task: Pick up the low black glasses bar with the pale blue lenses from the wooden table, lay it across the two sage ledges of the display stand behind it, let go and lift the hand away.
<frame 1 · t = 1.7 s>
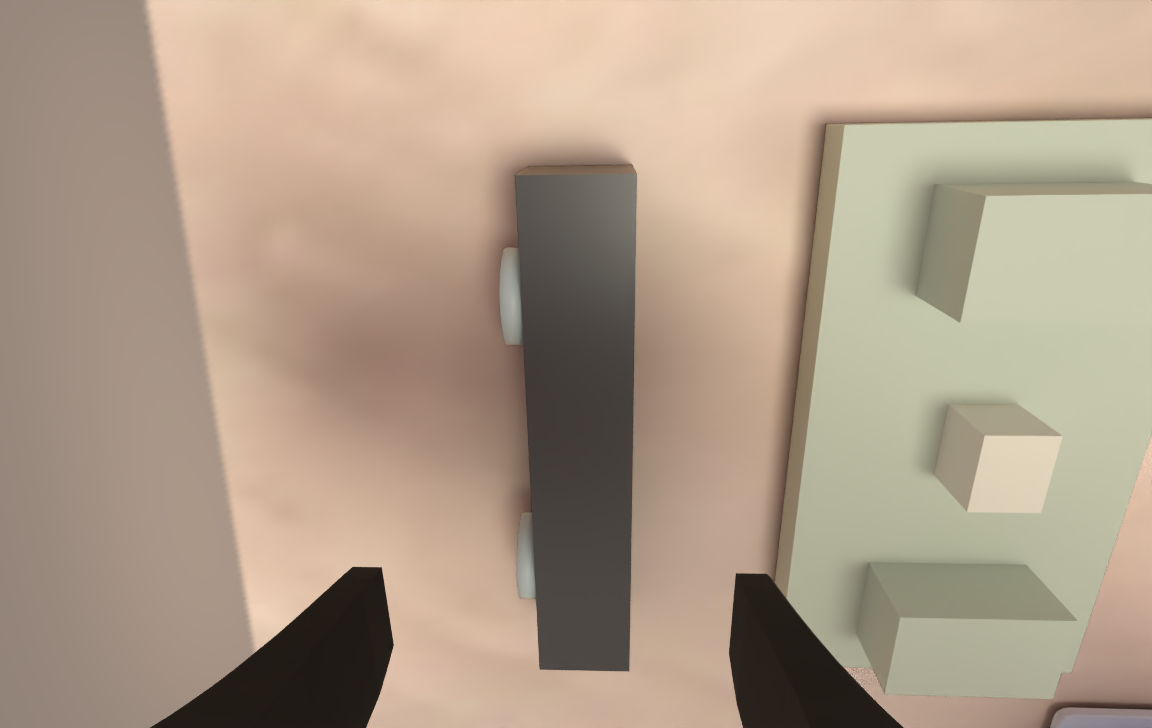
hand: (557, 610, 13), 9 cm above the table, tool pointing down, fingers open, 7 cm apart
display stand: (950, 418, 21), on the table
glasses bar: (583, 415, 22), on the table
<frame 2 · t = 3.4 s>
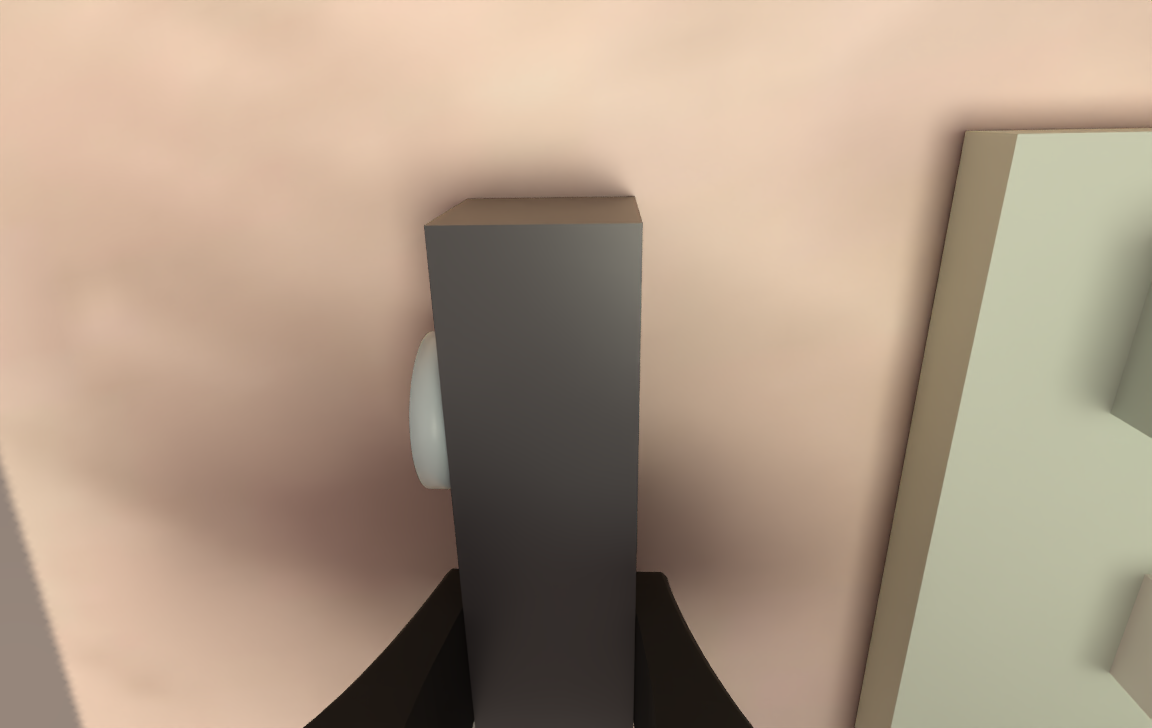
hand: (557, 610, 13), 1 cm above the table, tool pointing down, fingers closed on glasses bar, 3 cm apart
display stand: (1123, 574, 14), on the table
glasses bar: (562, 563, 15), on the table, touching gripper
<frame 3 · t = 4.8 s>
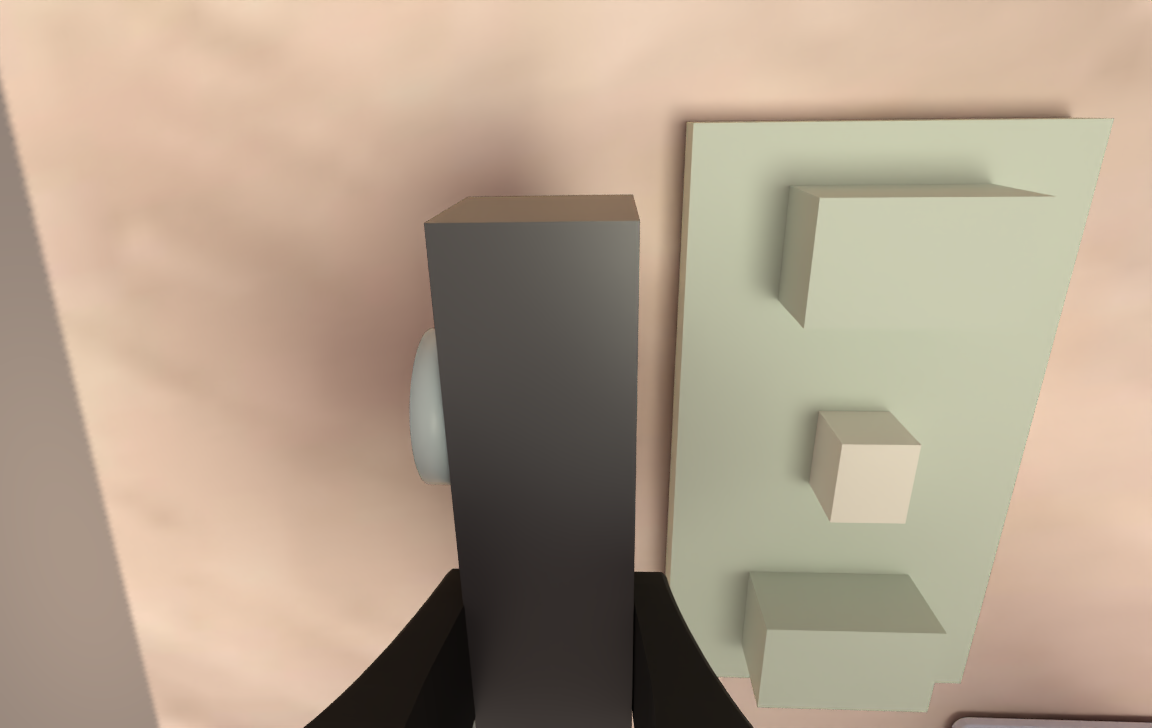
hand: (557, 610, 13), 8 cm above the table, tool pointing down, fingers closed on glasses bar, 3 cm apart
display stand: (832, 425, 20), on the table
glasses bar: (561, 559, 15), point 7 cm above the table, touching gripper
when the fingers open (6 cm above the table, at t = 6.3 s): glasses bar stays where it is, resting on display stand.
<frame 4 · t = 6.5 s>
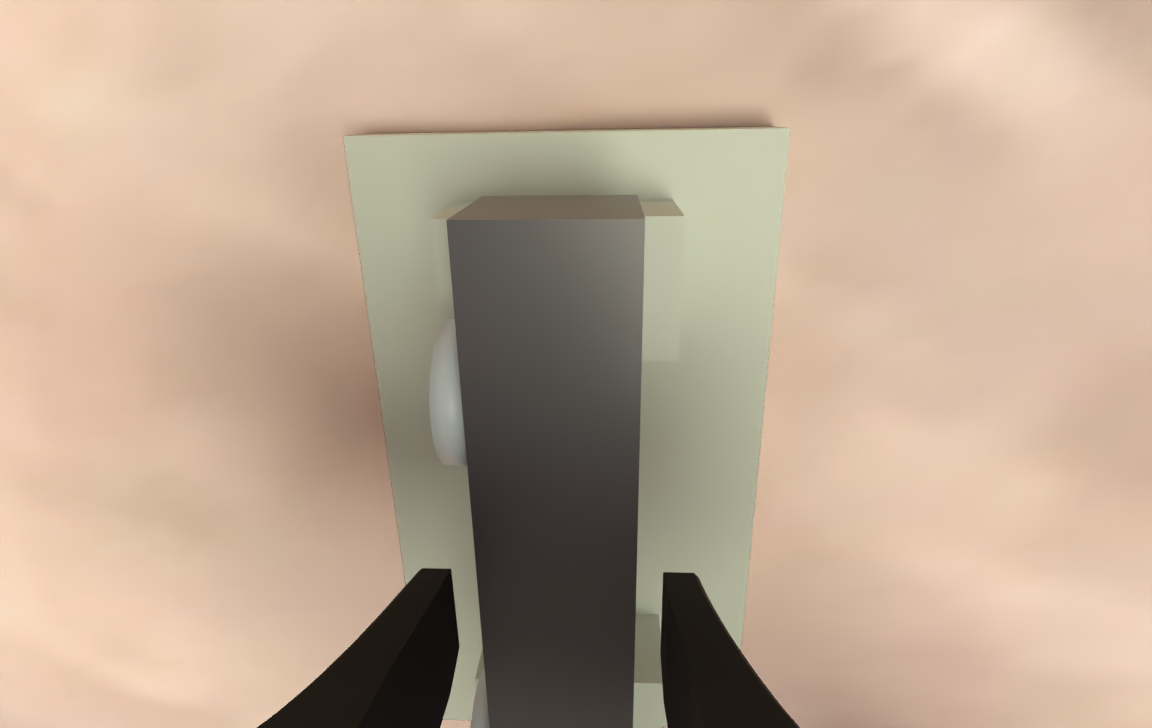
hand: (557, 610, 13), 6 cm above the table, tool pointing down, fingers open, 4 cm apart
display stand: (574, 454, 19), on the table
glasses bar: (567, 540, 15), point 4 cm above the table, touching display stand
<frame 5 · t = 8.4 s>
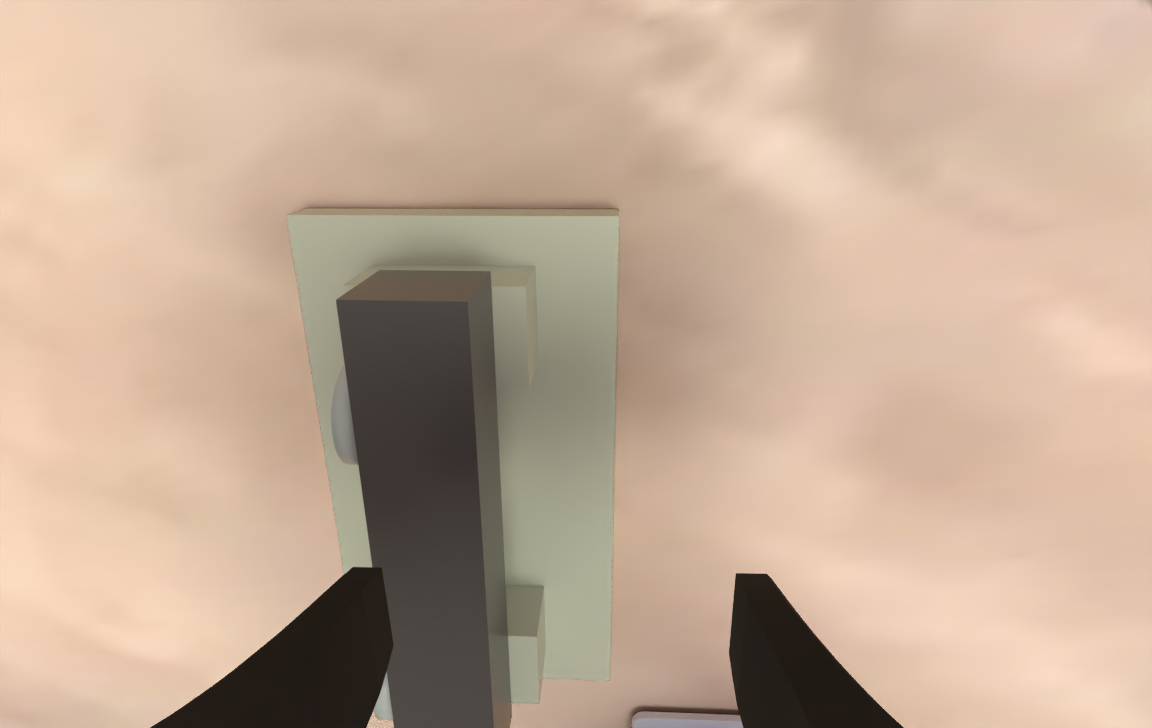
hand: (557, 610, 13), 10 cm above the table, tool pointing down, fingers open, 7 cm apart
display stand: (477, 457, 24), on the table
glasses bar: (454, 523, 20), point 4 cm above the table, touching display stand
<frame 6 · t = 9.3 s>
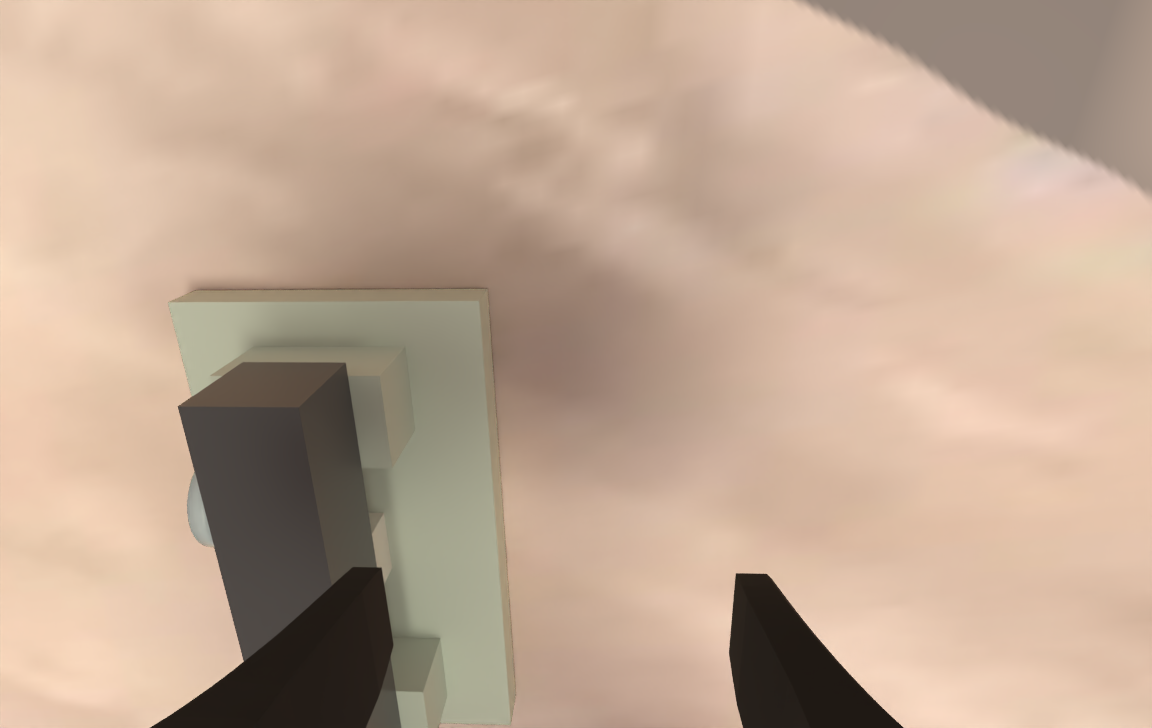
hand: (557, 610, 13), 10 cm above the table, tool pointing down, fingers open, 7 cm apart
display stand: (374, 516, 25), on the table
glasses bar: (335, 589, 21), point 4 cm above the table, touching display stand
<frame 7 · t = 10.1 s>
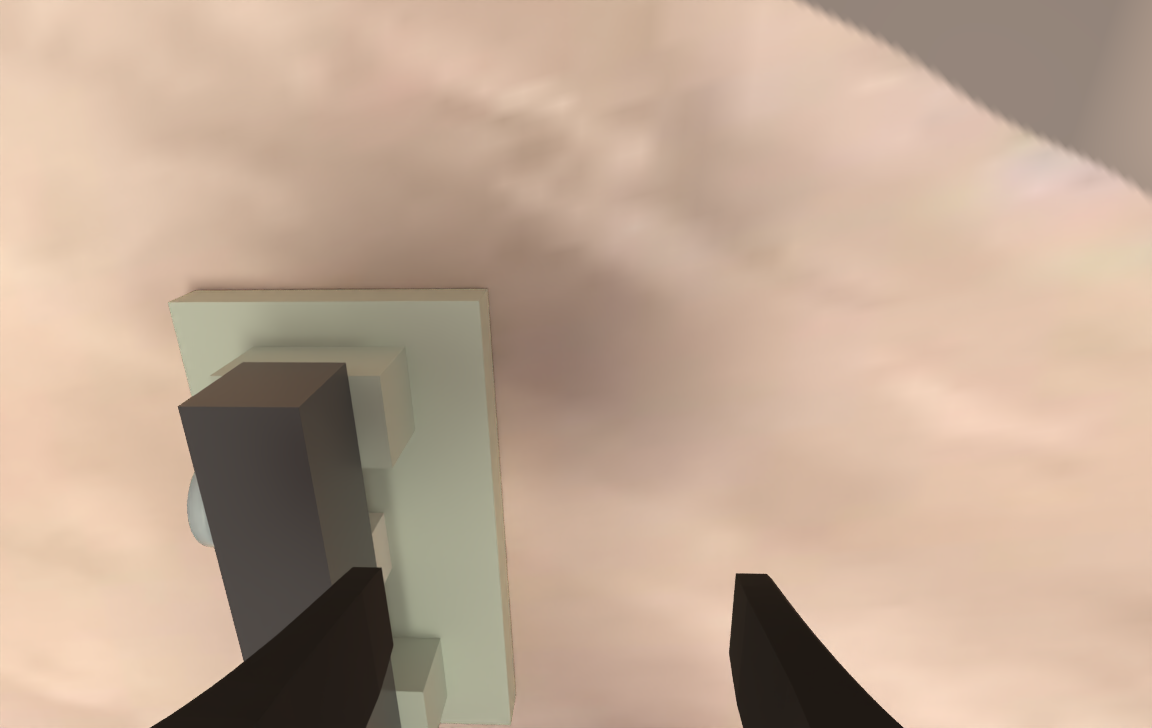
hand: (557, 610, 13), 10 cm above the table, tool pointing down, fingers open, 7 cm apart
display stand: (374, 516, 25), on the table
glasses bar: (335, 589, 21), point 4 cm above the table, touching display stand
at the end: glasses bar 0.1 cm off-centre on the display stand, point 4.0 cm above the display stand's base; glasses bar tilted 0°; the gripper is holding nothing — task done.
